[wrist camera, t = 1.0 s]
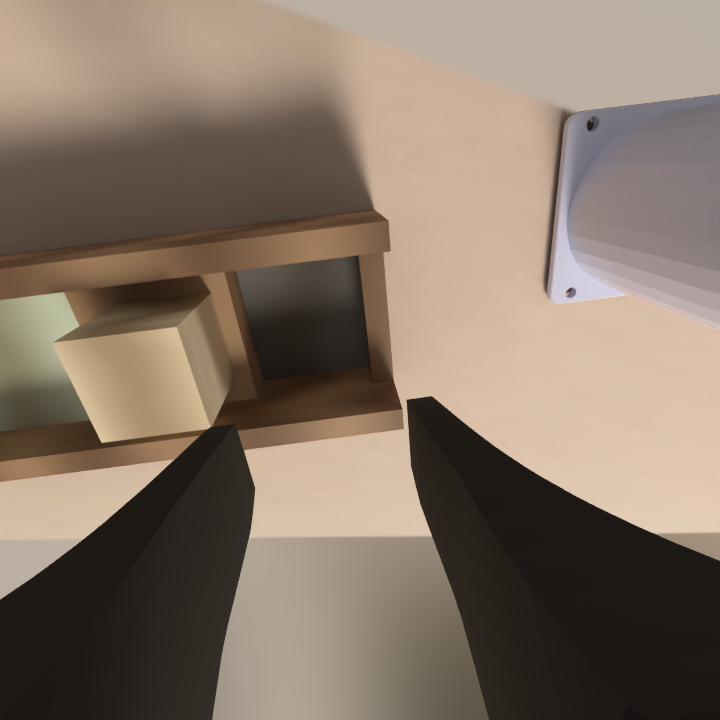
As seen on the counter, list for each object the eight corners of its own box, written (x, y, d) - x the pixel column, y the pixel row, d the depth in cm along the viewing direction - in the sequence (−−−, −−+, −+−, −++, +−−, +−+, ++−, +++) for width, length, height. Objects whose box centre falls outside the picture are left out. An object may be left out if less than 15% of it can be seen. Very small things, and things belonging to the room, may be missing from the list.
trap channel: (374, 209, 17) (388, 220, 13) (389, 379, 21) (403, 429, 17) (-226, 284, 17) (-404, 319, 13) (-102, 442, 20) (-210, 509, 16)
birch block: (211, 292, 16) (176, 327, 12) (235, 377, 18) (210, 428, 14) (114, 305, 16) (51, 342, 12) (148, 388, 18) (101, 442, 14)
